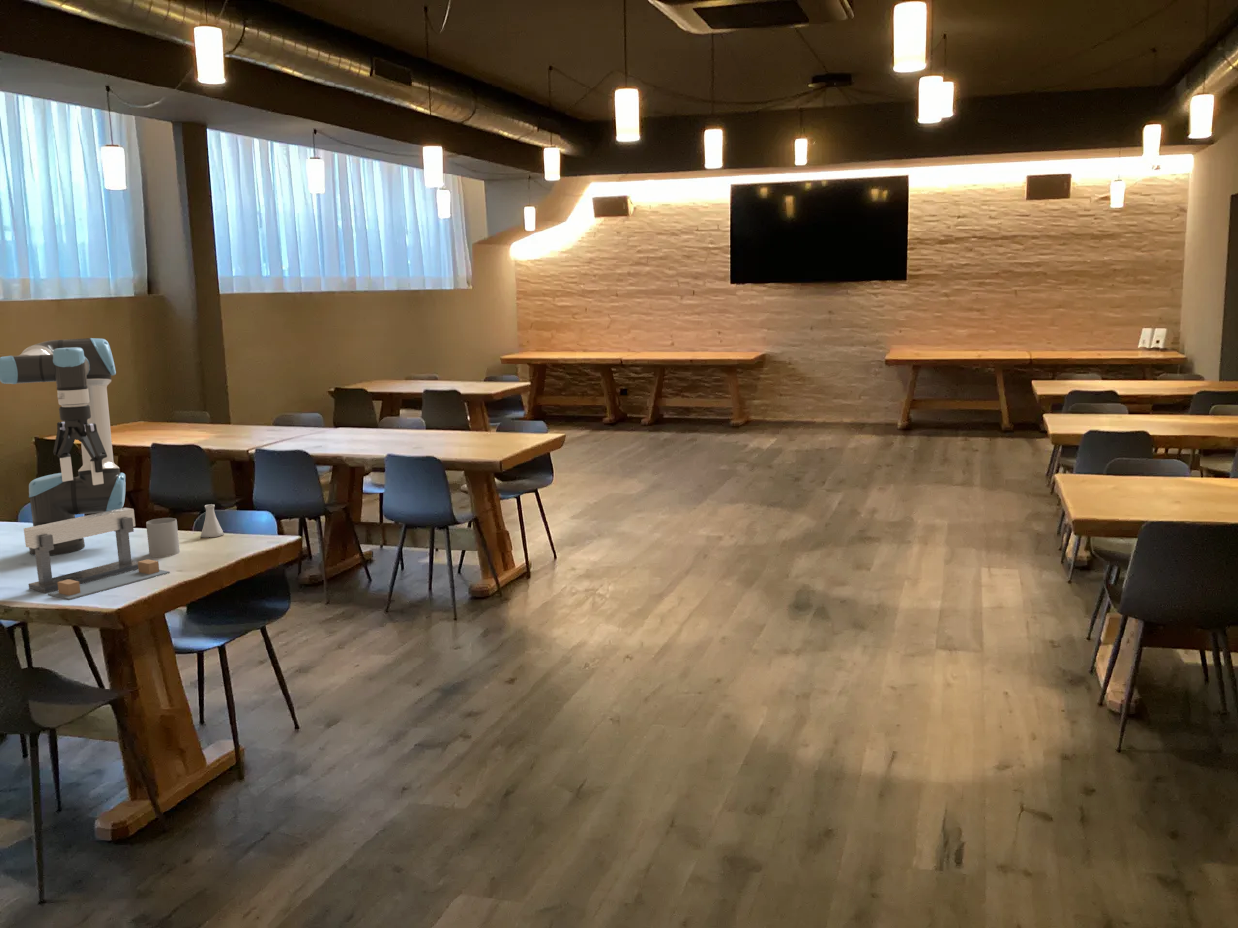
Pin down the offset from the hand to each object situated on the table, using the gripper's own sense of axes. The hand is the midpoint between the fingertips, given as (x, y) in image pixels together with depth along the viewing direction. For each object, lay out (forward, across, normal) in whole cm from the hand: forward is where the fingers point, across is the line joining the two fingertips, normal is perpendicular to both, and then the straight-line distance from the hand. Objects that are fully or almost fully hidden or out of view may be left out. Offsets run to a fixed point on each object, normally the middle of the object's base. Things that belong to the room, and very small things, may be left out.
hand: (82, 482), depth 290 cm
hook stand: (+27, 0, -2) cm, 27 cm away
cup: (+27, -5, +27) cm, 38 cm away
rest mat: (+27, +10, -2) cm, 29 cm away
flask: (+27, -11, +49) cm, 57 cm away
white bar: (+15, 0, -2) cm, 15 cm away
